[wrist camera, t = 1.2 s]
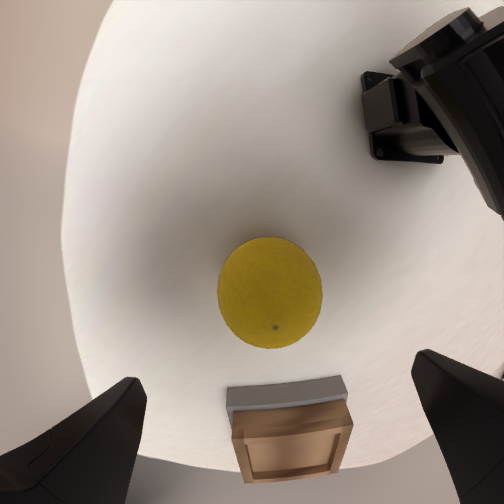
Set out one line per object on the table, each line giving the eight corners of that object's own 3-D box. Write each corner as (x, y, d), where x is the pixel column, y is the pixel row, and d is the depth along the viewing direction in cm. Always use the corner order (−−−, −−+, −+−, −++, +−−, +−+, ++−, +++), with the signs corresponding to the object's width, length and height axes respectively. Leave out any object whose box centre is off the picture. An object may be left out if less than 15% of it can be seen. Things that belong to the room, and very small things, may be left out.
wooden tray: (344, 398, 19) (353, 424, 16) (332, 451, 22) (337, 472, 19) (233, 411, 19) (231, 438, 16) (244, 460, 22) (244, 483, 19)
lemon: (320, 252, 18) (366, 304, 10) (277, 314, 19) (290, 391, 12) (251, 209, 17) (252, 236, 10) (209, 278, 19) (185, 345, 11)
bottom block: (339, 371, 22) (348, 393, 19) (329, 432, 25) (334, 451, 22) (228, 382, 22) (225, 406, 19) (240, 441, 25) (240, 461, 22)
